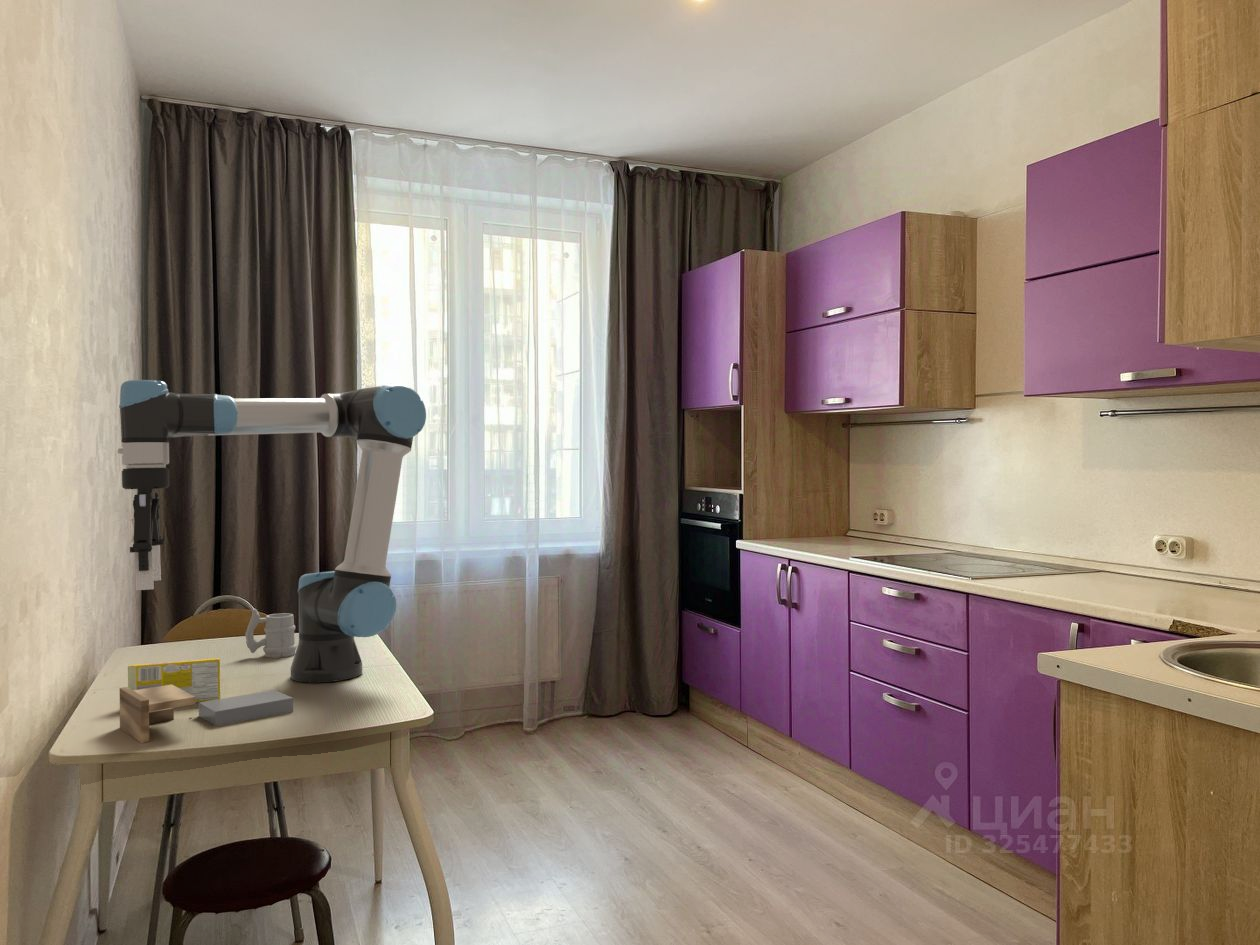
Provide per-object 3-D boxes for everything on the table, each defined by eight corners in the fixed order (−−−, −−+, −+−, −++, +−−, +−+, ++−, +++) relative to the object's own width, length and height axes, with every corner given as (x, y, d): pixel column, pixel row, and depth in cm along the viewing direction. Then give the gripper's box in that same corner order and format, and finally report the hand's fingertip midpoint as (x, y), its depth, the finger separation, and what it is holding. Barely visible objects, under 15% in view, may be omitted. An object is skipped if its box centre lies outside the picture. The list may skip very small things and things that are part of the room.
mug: (299, 655, 223) (298, 607, 223) (247, 661, 217) (247, 611, 217) (293, 650, 229) (293, 603, 229) (243, 655, 223) (243, 607, 223)
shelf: (172, 718, 166) (171, 680, 166) (195, 732, 156) (195, 692, 156) (119, 727, 160) (119, 688, 160) (141, 743, 151) (141, 701, 151)
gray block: (274, 705, 177) (274, 689, 177) (293, 713, 170) (293, 697, 170) (198, 718, 167) (198, 702, 167) (215, 728, 161) (215, 711, 161)
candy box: (220, 698, 181) (220, 657, 181) (220, 701, 179) (219, 659, 179) (129, 706, 175) (129, 663, 175) (127, 709, 173) (127, 666, 173)
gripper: (130, 467, 172) (133, 578, 172) (112, 467, 149) (115, 595, 149) (174, 466, 175) (177, 575, 175) (163, 466, 152) (166, 592, 152)
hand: (148, 585), depth 162 cm, fingers open, 13 cm apart
